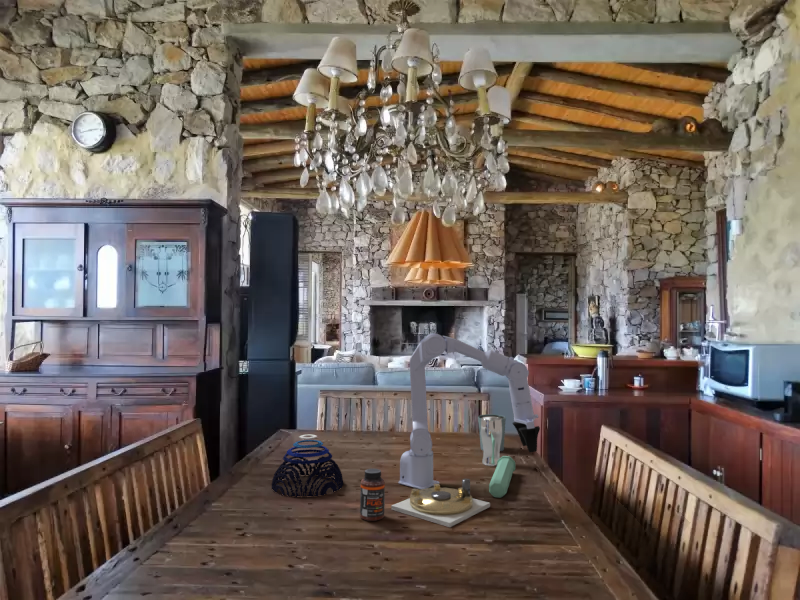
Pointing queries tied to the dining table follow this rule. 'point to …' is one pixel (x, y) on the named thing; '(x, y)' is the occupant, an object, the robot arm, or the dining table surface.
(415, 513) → the dial plate
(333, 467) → the decorative bowl
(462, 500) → the brass round disc
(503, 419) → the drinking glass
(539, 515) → the dining table surface
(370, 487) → the supplement bottle
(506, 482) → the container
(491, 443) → the beer glass
